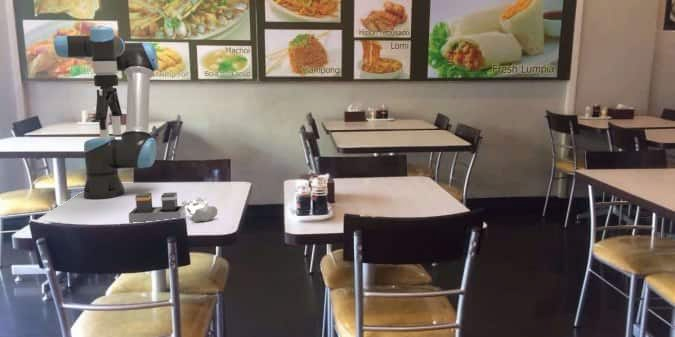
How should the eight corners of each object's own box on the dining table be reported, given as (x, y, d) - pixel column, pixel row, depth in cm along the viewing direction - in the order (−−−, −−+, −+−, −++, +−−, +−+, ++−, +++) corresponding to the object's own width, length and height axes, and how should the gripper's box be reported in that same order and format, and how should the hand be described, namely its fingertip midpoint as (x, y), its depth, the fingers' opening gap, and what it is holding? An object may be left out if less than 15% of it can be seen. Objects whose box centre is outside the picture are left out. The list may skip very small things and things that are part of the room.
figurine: (193, 212, 182) (178, 199, 191) (194, 229, 184) (179, 216, 193) (220, 205, 187) (204, 193, 196) (220, 222, 190) (204, 209, 199)
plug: (153, 219, 186) (151, 192, 184) (151, 223, 182) (148, 195, 180) (140, 220, 186) (138, 193, 184) (137, 223, 181) (135, 196, 180)
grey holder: (136, 222, 187) (134, 192, 185) (186, 220, 188) (184, 190, 187) (129, 229, 179) (127, 198, 178) (181, 227, 181) (179, 196, 179)
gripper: (105, 74, 204) (111, 133, 208) (80, 75, 179) (87, 142, 183) (127, 73, 205) (132, 132, 208) (105, 74, 180) (111, 141, 184)
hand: (111, 137), depth 196 cm, fingers open, 13 cm apart
